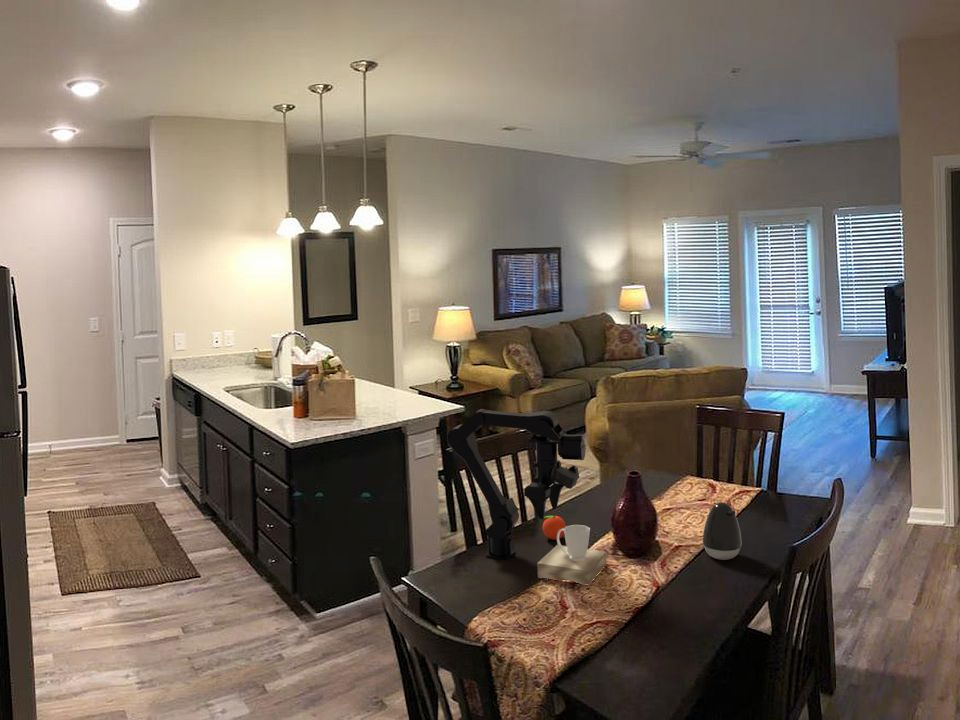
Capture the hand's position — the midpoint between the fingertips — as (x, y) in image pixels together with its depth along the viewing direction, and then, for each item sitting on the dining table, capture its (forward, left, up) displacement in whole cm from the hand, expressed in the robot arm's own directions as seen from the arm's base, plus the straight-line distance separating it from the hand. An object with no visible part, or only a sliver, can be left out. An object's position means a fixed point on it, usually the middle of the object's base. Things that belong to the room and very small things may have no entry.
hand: (548, 513), depth 218 cm
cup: (+9, -6, -9) cm, 14 cm away
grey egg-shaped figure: (+43, +19, -13) cm, 49 cm away
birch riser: (+9, -6, -13) cm, 17 cm away
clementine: (-5, +15, -13) cm, 21 cm away
